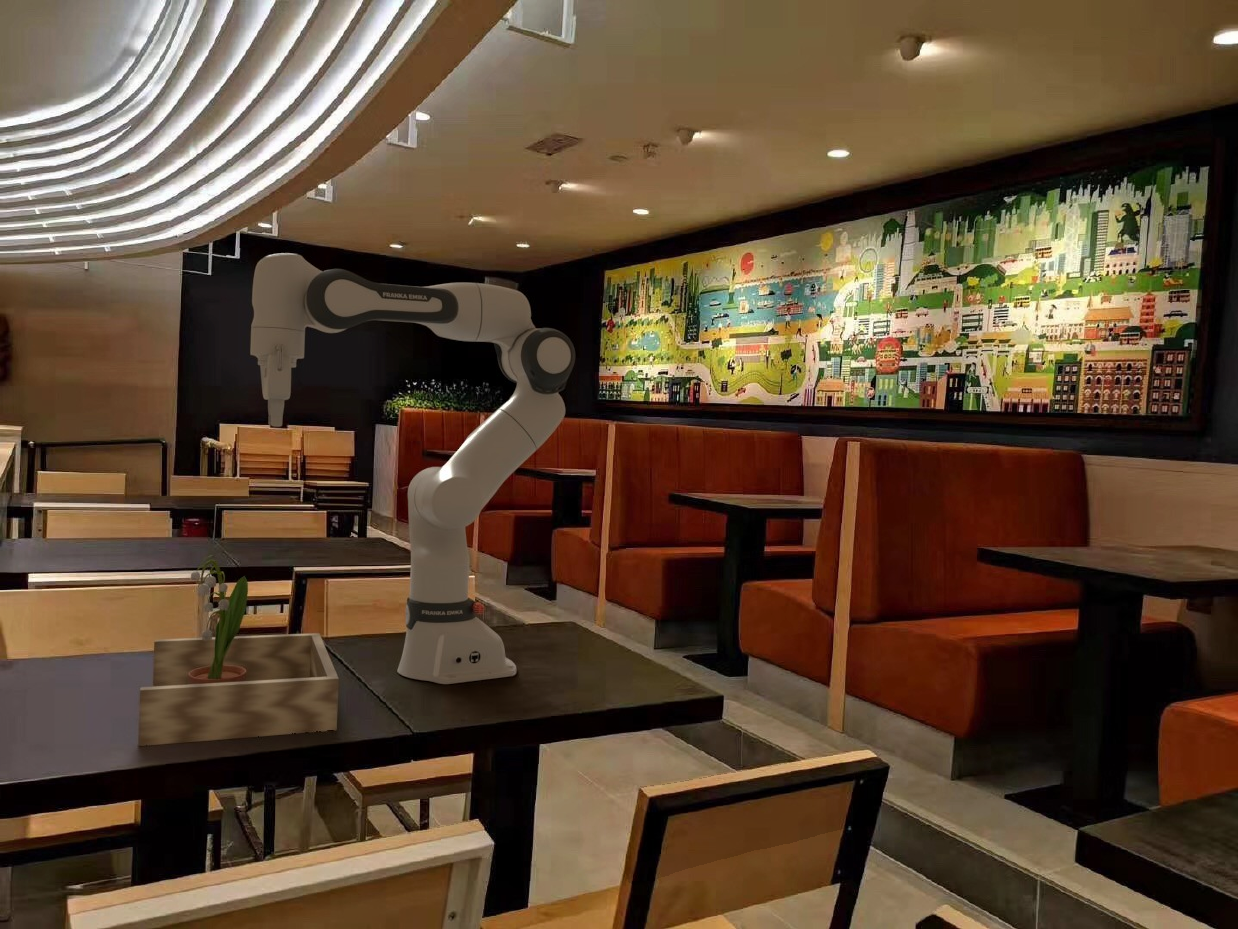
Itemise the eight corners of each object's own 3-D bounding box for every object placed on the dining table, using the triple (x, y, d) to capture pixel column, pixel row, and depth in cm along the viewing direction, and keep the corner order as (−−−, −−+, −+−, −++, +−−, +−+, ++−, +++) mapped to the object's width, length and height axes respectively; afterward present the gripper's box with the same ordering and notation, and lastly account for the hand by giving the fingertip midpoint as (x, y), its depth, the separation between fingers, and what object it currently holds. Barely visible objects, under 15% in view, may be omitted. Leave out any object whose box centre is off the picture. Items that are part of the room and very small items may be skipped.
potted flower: (217, 723, 141) (222, 561, 140) (159, 716, 143) (165, 556, 142) (262, 701, 152) (267, 552, 151) (208, 695, 154) (213, 547, 153)
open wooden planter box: (317, 676, 169) (319, 633, 168) (336, 730, 140) (338, 678, 140) (153, 685, 158) (154, 639, 158) (138, 746, 130) (139, 690, 129)
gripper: (301, 344, 152) (298, 428, 152) (293, 351, 171) (290, 425, 171) (260, 341, 149) (257, 426, 150) (256, 348, 168) (254, 424, 169)
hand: (275, 426), depth 161 cm, fingers open, 8 cm apart
